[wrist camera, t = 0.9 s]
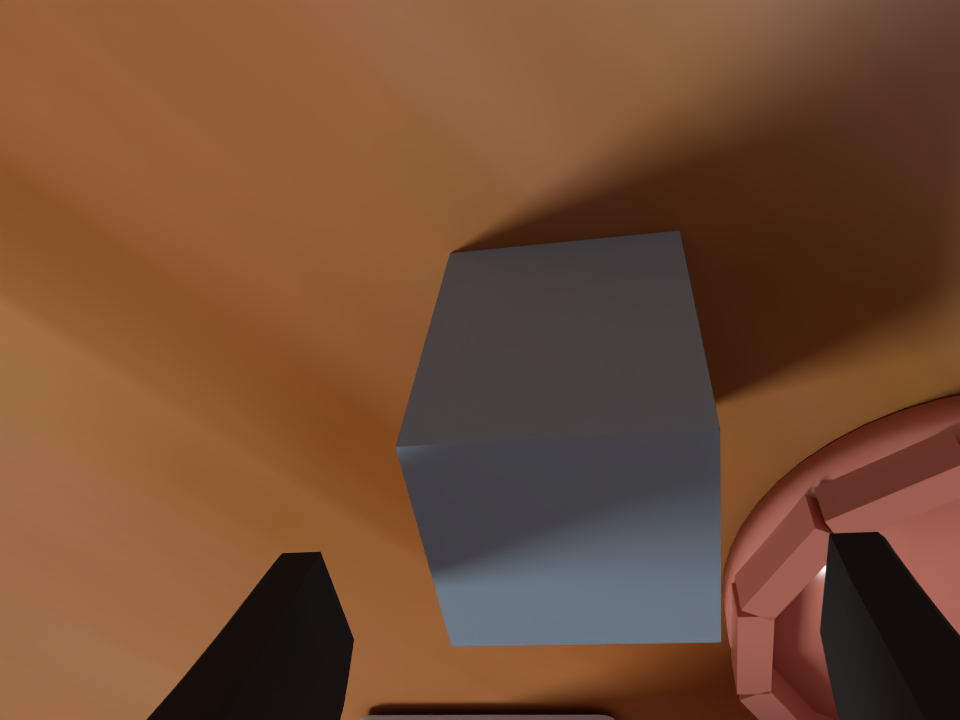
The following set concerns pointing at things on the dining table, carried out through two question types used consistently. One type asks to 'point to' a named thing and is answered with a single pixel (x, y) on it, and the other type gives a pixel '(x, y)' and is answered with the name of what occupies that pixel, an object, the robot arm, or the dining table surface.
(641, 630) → the slate block
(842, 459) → the terracotta dish
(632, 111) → the dining table surface
